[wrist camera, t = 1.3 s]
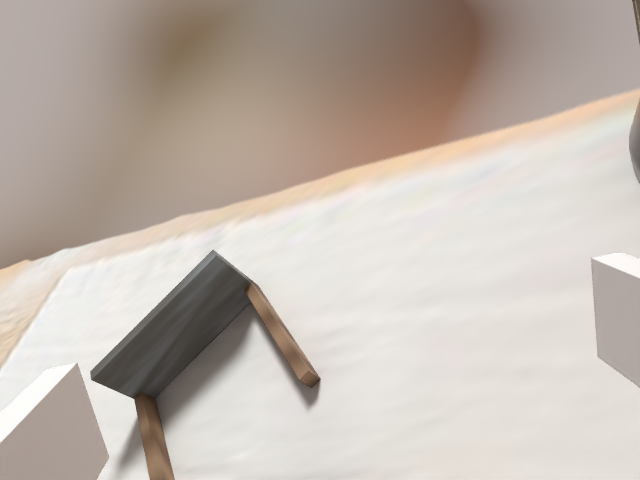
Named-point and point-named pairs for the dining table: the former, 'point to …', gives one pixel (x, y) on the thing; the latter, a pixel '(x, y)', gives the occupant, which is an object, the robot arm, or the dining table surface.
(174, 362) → the frame
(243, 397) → the dining table surface
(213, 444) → the dining table surface
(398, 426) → the dining table surface
